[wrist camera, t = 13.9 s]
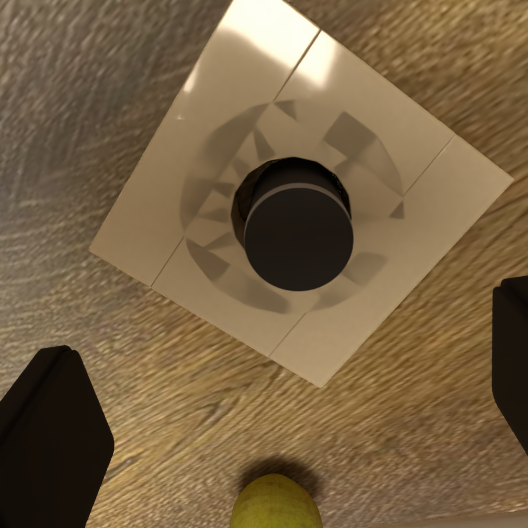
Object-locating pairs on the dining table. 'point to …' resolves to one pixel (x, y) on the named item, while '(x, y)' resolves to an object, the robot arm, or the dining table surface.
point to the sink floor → (306, 147)
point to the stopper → (297, 226)
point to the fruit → (275, 505)
